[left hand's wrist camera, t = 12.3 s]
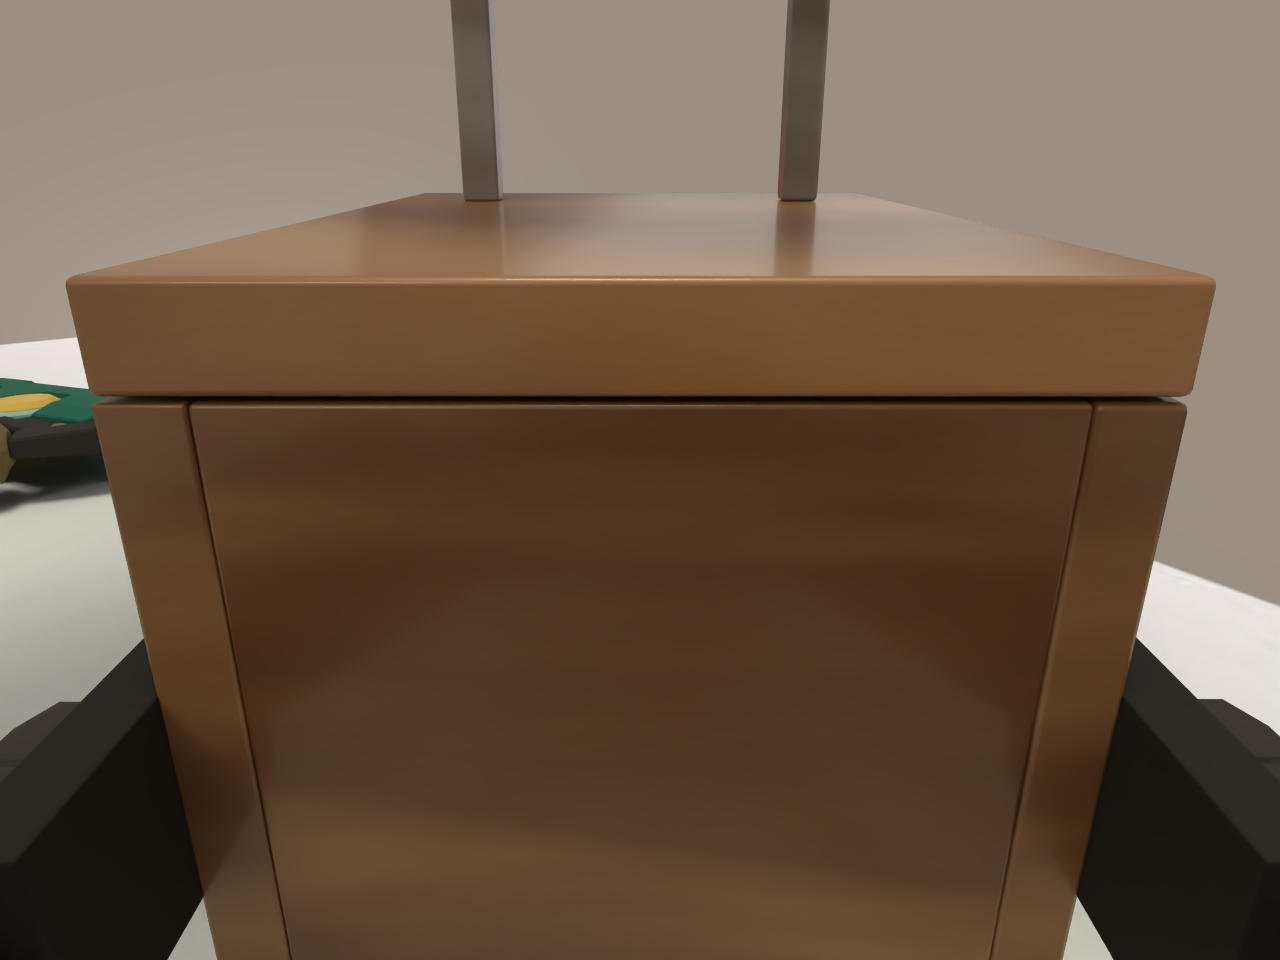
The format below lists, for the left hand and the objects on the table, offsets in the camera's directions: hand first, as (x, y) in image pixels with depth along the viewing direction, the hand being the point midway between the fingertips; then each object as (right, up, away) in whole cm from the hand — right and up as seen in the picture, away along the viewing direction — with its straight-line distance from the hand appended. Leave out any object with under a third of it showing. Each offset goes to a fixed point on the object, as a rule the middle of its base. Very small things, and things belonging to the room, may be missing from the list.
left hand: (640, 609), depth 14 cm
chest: (0, -5, +5) cm, 7 cm away
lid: (0, +5, +1) cm, 5 cm away
